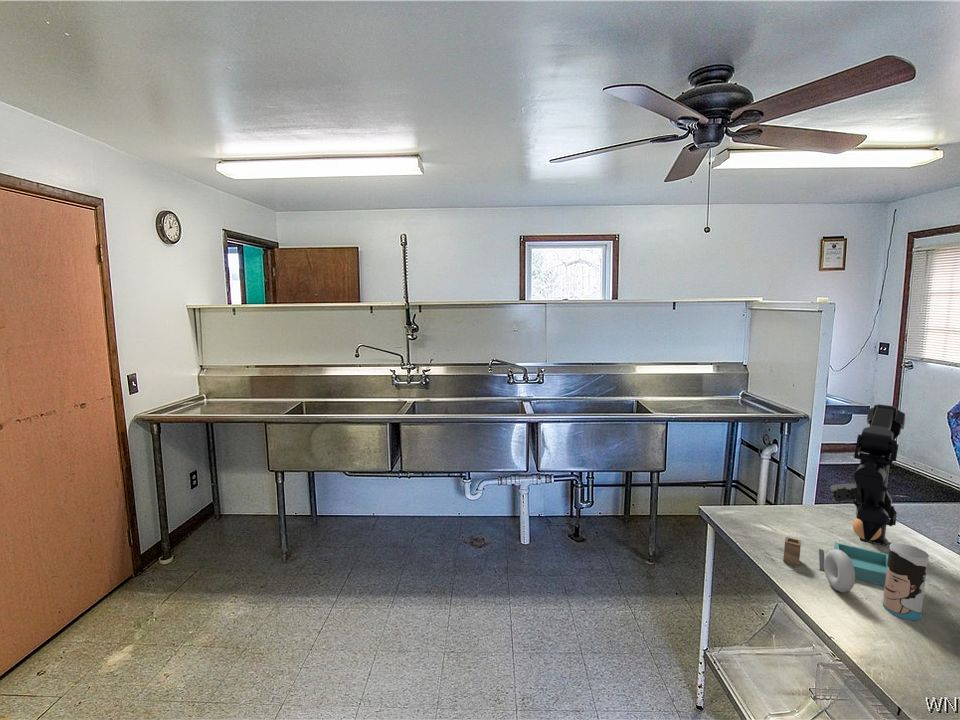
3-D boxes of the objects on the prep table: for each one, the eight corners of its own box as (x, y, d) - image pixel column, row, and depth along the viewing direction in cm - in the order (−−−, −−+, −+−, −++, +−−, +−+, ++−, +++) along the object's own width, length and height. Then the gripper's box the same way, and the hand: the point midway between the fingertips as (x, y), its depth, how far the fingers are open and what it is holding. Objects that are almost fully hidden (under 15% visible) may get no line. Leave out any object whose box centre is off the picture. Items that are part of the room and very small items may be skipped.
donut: (856, 602, 115) (860, 563, 114) (840, 600, 116) (844, 561, 114) (834, 578, 125) (838, 542, 123) (819, 576, 125) (823, 541, 124)
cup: (884, 598, 116) (891, 540, 115) (922, 611, 112) (929, 550, 110) (880, 610, 112) (887, 550, 110) (919, 624, 107) (927, 561, 105)
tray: (833, 552, 138) (834, 541, 137) (888, 565, 131) (889, 554, 131) (835, 573, 127) (836, 561, 127) (894, 588, 120) (896, 576, 120)
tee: (783, 556, 136) (785, 536, 135) (799, 559, 134) (800, 540, 133) (783, 561, 133) (785, 541, 132) (798, 565, 131) (800, 545, 130)
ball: (877, 530, 130) (858, 511, 132) (892, 531, 124) (873, 512, 126) (860, 544, 129) (842, 525, 131) (875, 545, 124) (856, 525, 126)
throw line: (819, 549, 139) (819, 548, 139) (823, 550, 139) (823, 549, 139) (819, 569, 129) (819, 569, 129) (824, 571, 128) (824, 570, 128)
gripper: (832, 463, 138) (827, 514, 140) (835, 483, 123) (830, 540, 125) (882, 471, 132) (876, 524, 134) (892, 493, 117) (885, 553, 119)
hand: (865, 534), depth 128 cm, fingers closed on ball, 6 cm apart
